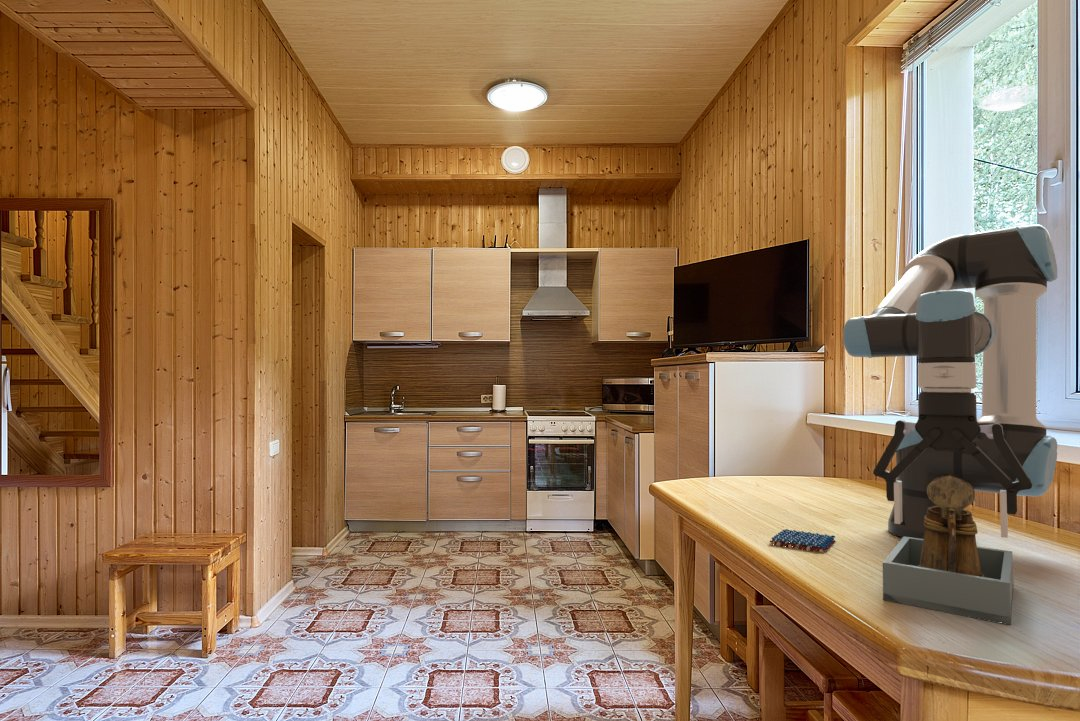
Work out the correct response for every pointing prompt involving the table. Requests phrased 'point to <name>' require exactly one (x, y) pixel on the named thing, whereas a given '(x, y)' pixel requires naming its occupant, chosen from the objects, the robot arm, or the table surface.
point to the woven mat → (803, 540)
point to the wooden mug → (950, 527)
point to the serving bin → (950, 583)
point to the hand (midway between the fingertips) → (949, 529)
